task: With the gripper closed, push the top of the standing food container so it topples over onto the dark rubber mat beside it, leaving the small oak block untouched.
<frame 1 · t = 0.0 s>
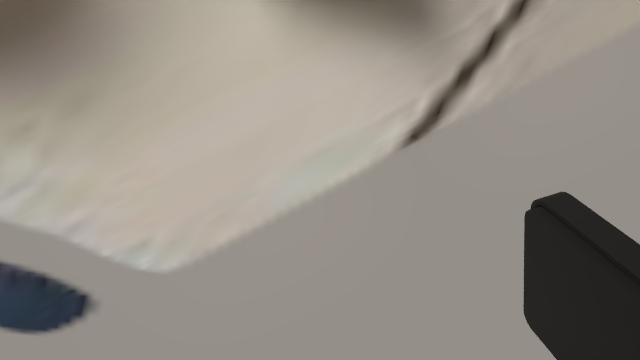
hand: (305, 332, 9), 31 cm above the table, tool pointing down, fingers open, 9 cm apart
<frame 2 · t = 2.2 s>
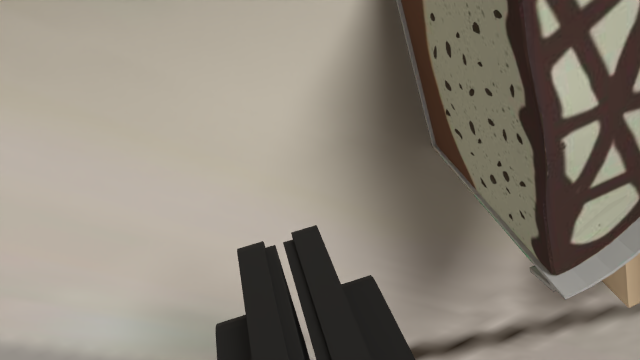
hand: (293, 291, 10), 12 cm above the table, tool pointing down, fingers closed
oak block: (602, 195, 27), on the table, touching mat
food container: (472, 29, 22), on the table
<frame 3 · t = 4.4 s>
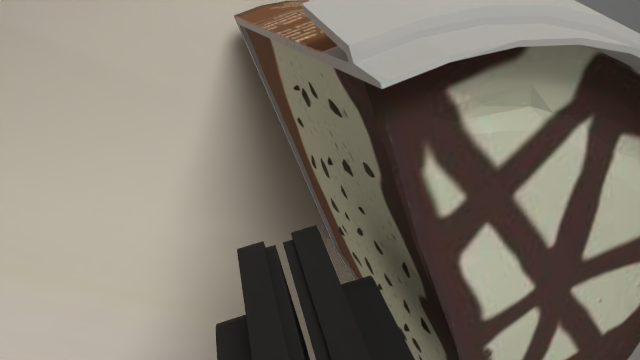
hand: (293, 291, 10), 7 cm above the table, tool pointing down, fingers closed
food container: (370, 108, 17), on the table, touching gripper
mat: (632, 34, 18), on the table
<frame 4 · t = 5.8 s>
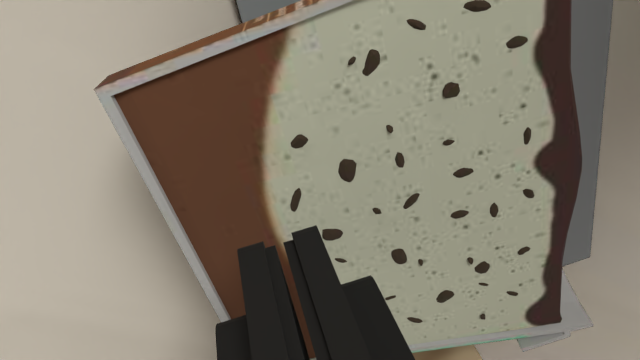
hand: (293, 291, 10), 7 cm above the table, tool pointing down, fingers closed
oak block: (403, 347, 22), on the table, touching mat
food container: (199, 192, 15), point 2 cm above the table, touching mat
mat: (444, 101, 17), on the table
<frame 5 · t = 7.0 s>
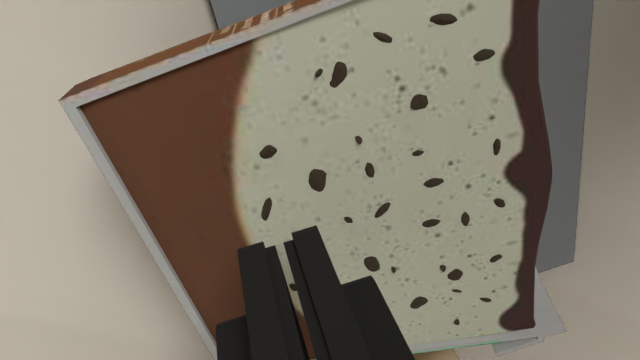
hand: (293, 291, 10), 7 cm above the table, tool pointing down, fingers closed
oak block: (386, 351, 22), on the table, touching mat
food container: (175, 197, 15), point 2 cm above the table, touching mat
mat: (424, 106, 17), on the table
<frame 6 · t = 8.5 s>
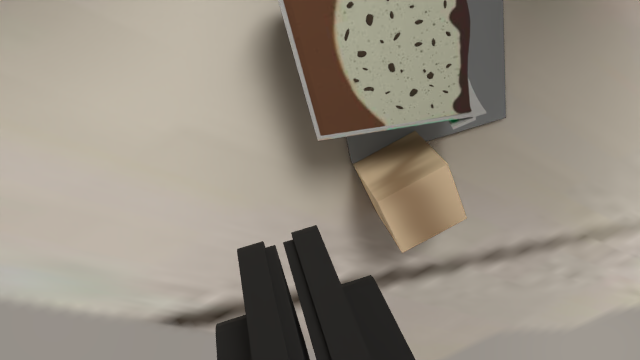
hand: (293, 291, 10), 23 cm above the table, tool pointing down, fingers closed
oak block: (395, 173, 37), on the table, touching mat
food container: (291, 50, 29), point 2 cm above the table, touching mat
mat: (415, 13, 32), on the table
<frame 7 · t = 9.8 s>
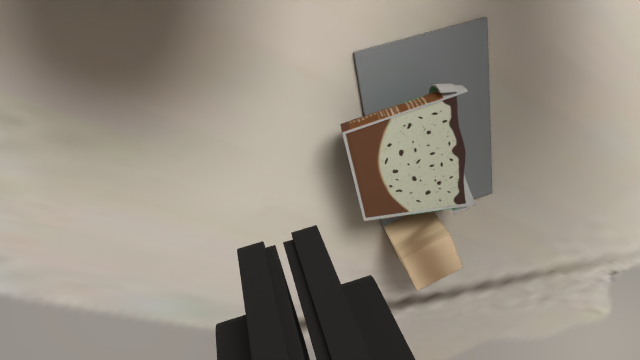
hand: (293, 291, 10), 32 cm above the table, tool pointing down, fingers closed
oak block: (412, 231, 51), on the table, touching mat
food container: (347, 160, 44), point 2 cm above the table, touching mat
mat: (429, 129, 47), on the table
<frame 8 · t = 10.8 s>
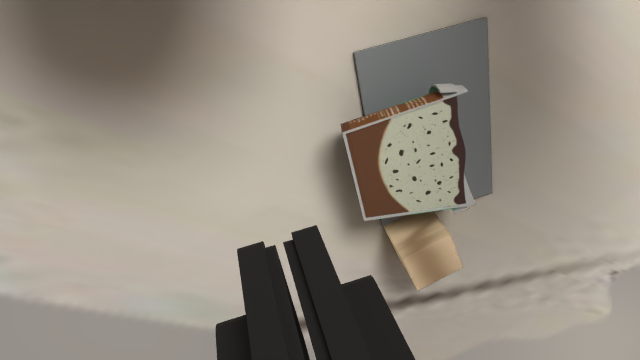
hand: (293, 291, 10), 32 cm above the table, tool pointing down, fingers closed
oak block: (412, 231, 51), on the table, touching mat
food container: (347, 160, 44), point 2 cm above the table, touching mat
mat: (429, 129, 47), on the table
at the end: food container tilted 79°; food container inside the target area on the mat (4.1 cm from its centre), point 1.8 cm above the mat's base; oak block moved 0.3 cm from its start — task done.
